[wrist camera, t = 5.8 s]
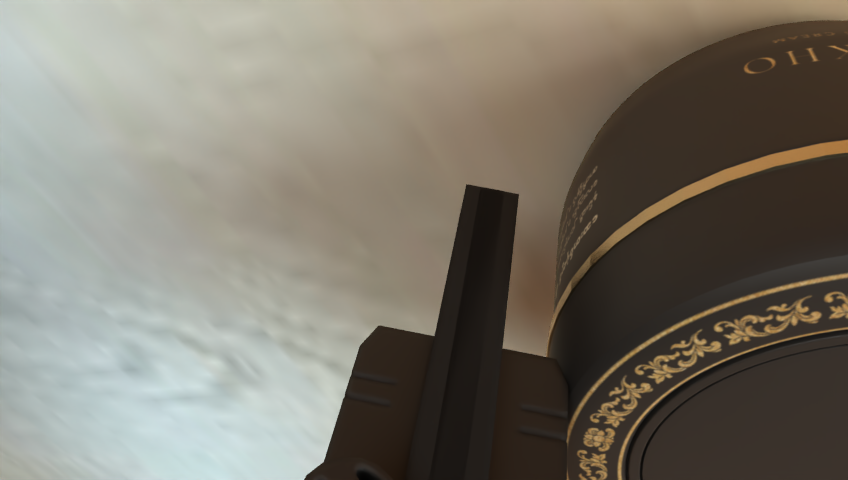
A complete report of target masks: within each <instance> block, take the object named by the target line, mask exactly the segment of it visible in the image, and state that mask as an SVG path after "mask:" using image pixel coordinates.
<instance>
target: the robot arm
mask: <svg viewBox="0 0 848 480" xmlns="http://www.w3.org/2000/svg"><path fill="white" fill-rule="evenodd" d="M518 197H519V194H515V193H509V192H505V191H500V190H494V189H489V188H484V187H478V186H473V185H467V184H466V189H465V194H464V198H463V203H462V208H461V213H460V217H459V222H458V227H457V232H456V237H455V241H454V246H453V251H452V256H451V260H450V265H449V270H448V275H447V280H446V284H445V289H444V294H443V299H442V303H441V308H440V313H439V318H438V323H437V327H436V332H435V336H430V335H425V334H420V333H415V332H410V331H404V330H399V329H394V328H389V327H384V326H378V327H377V328H376V329H375V330H374V331H373V332H372V333H371V334H370V336H369V337H368V338H367V339H366V340H365V341H364V342H363V343H362V344H361V345H360V347H359V351H358V354H357V357H356V360H355V363H354V367H353V370H352V374H351V377H350V380H349V383H348V386H347V389H346V392H345V397H344V399H343V402H342V405H341V409H340V412H339V415H338V418H337V421H336V425H335V428H334V431H333V434H332V438H331V441H330V444H329V447H328V450H327V454H326V457H325V460H324V463H322V464H321V465H319V466H318V467H317V468H315V469H314V470H313V471H312V472H310V473H309V474H308V475H307V476H306V478H305V479H304V480H567V437H568V419H567V415H568V384H567V382H566V380H565V377H564V375H563V373H562V371H561V368H560V366H559V364H558V361H557V359H553V358H548V357H543V356H538V355H533V354H528V353H522V352H517V351H512V350H507V349H502V347H503V337H504V328H505V319H506V309H507V300H508V291H509V281H510V272H511V263H512V253H513V244H514V235H515V225H516V216H517V207H518Z"/></svg>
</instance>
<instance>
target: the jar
mask: <svg viewBox="0 0 848 480" xmlns="http://www.w3.org/2000/svg"><path fill="white" fill-rule="evenodd" d="M546 357H548V358H553V359H557V361H558V364H559V366H560V368H561V371H562V373H563V375H564V377H565V380H566V382H567V384H568V415H567V419H568V437H567V480H848V21H806V22H797V23H788V24H782V25H776V26H771V27H766V28H762V29H757V30H753V31H750V32H746V33H743V34H739V35H736V36H733V37H730V38H727V39H724V40H722V41H719V42H717V43H714V44H712V45H709V46H707V47H705V48H702V49H700V50H698V51H696V52H694V53H692V54H690V55H688V56H686V57H684V58H682V59H681V60H679V61H677V62H675V63H674V64H672V65H670V66H669V67H667V68H665V69H664V70H663V71H661V72H660V73H658V74H657V75H655V76H654V77H652V78H651V79H650V80H649V81H647V82H646V83H645V84H643V85H642V86H641V87H640V88H639V89H637V90H636V91H635V92H634V93H633V94H632V95H631V96H630V97H629V98H627V99H626V100H625V101H624V102H623V103H622V104H621V105H620V107H619V108H618V109H617V110H616V111H615V112H614V113H613V114H612V116H611V117H610V118H609V119H608V121H607V122H606V123H605V124H604V126H603V127H602V129H601V130H600V132H599V133H598V135H597V136H596V138H595V140H594V141H593V143H592V145H591V146H590V148H589V150H588V152H587V154H586V156H585V157H584V159H583V161H582V163H581V165H580V167H579V169H578V171H577V173H576V175H575V177H574V179H573V182H572V184H571V187H570V189H569V192H568V195H567V198H566V201H565V204H564V208H563V212H562V216H561V221H560V228H559V236H558V249H557V266H556V284H555V301H554V316H553V319H552V322H551V325H550V328H549V335H548V343H547V350H546Z"/></svg>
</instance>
